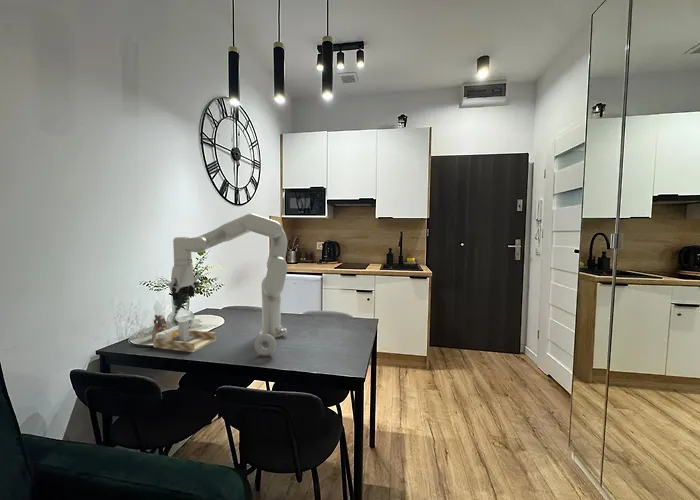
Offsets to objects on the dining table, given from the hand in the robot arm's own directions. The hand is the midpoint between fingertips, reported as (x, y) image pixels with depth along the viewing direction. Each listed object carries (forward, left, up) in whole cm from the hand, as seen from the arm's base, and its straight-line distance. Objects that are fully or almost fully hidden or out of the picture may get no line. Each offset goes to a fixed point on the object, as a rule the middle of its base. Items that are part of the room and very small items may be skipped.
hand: (183, 298), depth 155 cm
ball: (+5, 0, -19) cm, 20 cm away
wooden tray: (-1, 0, -22) cm, 22 cm away
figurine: (+17, -3, -23) cm, 28 cm away
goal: (+7, 0, -21) cm, 22 cm away
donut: (-45, +2, -23) cm, 50 cm away
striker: (0, 0, -21) cm, 21 cm away
